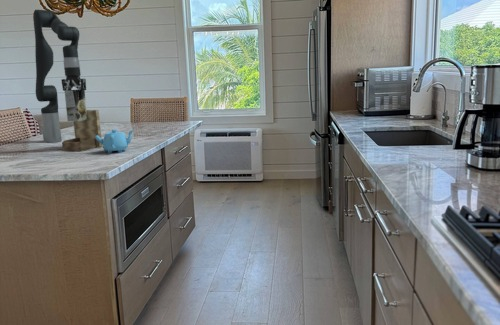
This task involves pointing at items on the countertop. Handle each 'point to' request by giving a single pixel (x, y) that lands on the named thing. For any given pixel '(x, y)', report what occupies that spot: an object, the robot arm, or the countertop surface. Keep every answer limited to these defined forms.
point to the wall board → (88, 127)
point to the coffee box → (75, 106)
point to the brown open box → (78, 144)
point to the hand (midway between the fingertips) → (75, 98)
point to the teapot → (115, 141)
